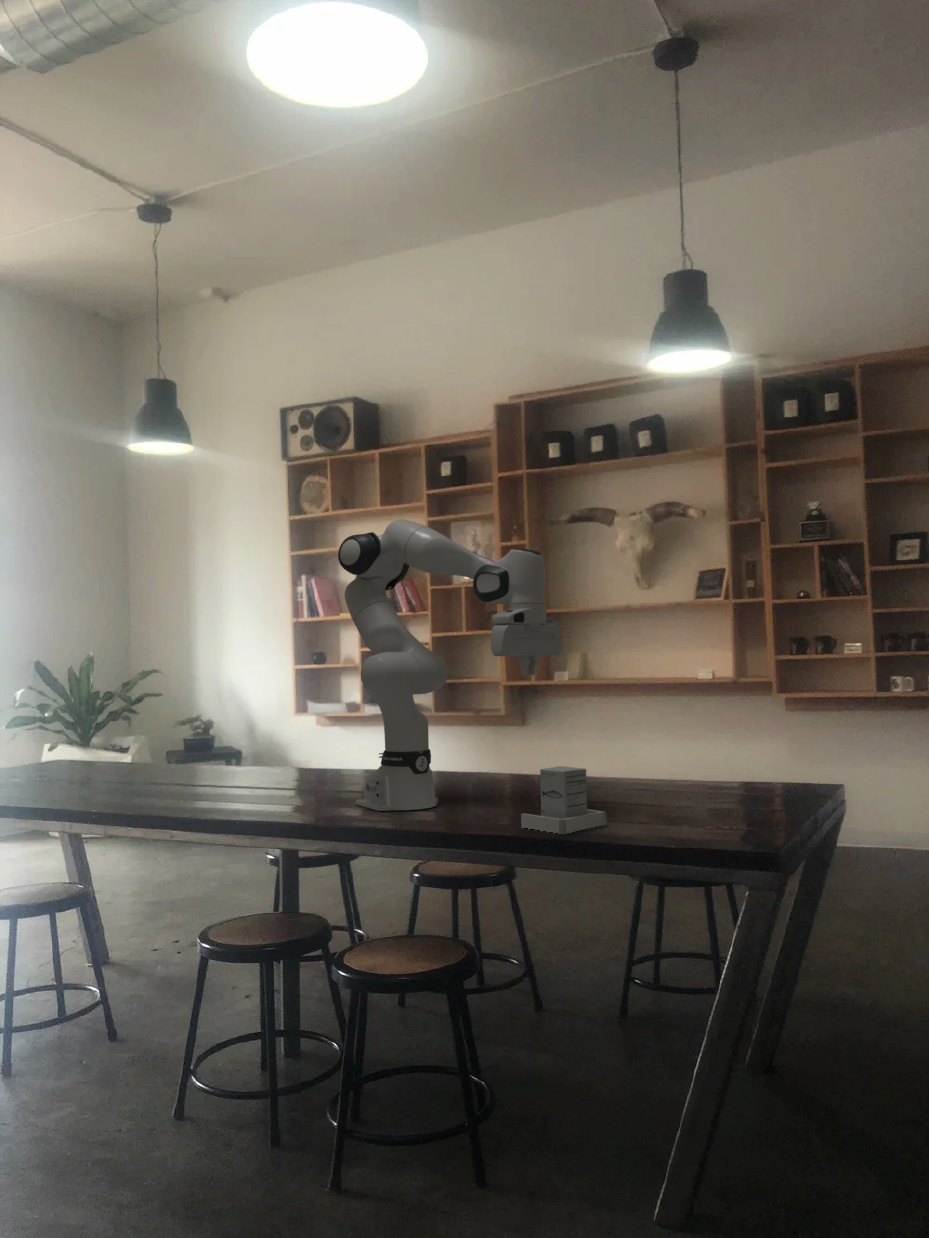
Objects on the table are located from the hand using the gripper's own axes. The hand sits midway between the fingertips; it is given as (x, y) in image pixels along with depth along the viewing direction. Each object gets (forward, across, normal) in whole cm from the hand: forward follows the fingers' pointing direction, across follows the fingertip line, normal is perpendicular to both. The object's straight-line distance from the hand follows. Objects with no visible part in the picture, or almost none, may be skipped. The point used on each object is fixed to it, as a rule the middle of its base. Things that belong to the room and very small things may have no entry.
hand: (527, 675), depth 222 cm
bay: (+32, +6, +17) cm, 37 cm away
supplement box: (+32, +6, +17) cm, 37 cm away
